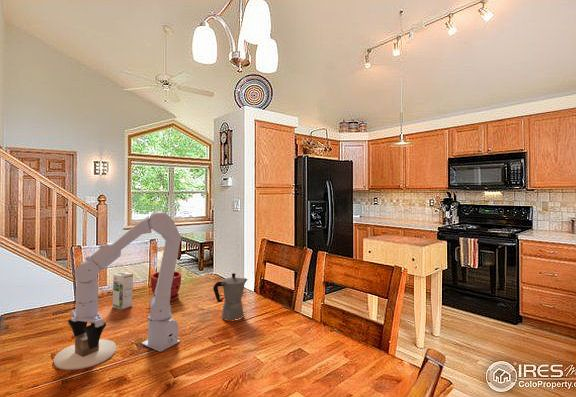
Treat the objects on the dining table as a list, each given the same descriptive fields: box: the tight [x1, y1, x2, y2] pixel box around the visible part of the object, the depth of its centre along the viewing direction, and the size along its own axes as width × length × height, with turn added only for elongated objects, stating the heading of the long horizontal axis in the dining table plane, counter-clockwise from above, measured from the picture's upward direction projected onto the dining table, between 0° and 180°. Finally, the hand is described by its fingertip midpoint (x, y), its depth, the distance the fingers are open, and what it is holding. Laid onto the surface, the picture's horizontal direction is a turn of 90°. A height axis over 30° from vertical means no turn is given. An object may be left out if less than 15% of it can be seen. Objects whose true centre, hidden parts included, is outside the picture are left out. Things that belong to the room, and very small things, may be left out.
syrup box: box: [112, 271, 134, 311], centre depth 134 cm, size 6×6×14 cm
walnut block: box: [74, 332, 99, 357], centre depth 95 cm, size 5×5×5 cm
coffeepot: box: [212, 272, 249, 320], centre depth 126 cm, size 15×9×18 cm, turn 129°
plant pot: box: [150, 270, 182, 303], centre depth 144 cm, size 13×13×12 cm
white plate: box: [53, 338, 117, 371], centre depth 95 cm, size 16×16×1 cm
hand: (86, 344), depth 95 cm, fingers open, 7 cm apart
